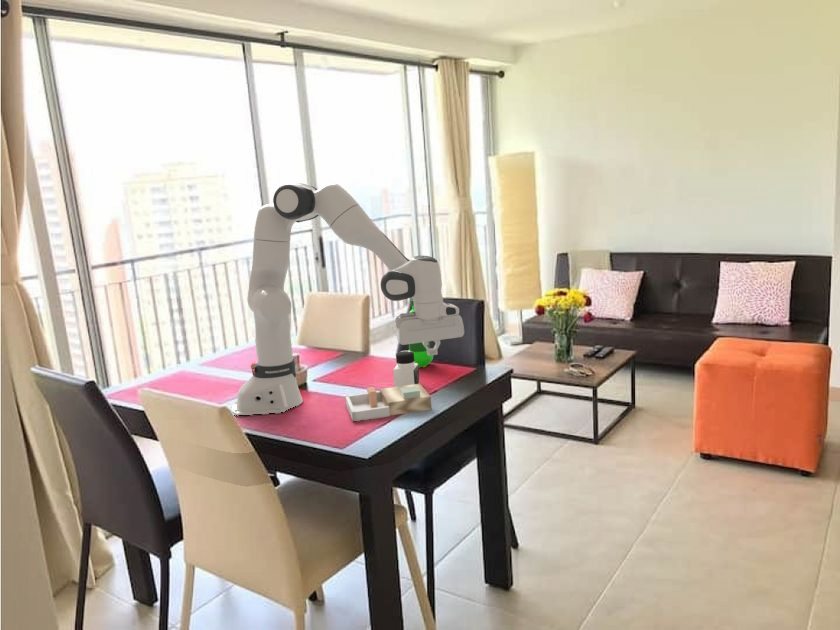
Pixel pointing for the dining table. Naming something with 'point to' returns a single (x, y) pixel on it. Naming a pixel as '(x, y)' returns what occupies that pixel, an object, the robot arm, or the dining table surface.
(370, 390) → the terracotta tile
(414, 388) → the sage tile
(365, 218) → the robot arm
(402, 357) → the medicine bottle
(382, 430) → the dining table surface
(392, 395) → the birch block
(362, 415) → the grey box
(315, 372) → the dining table surface
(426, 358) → the plastic bottle
